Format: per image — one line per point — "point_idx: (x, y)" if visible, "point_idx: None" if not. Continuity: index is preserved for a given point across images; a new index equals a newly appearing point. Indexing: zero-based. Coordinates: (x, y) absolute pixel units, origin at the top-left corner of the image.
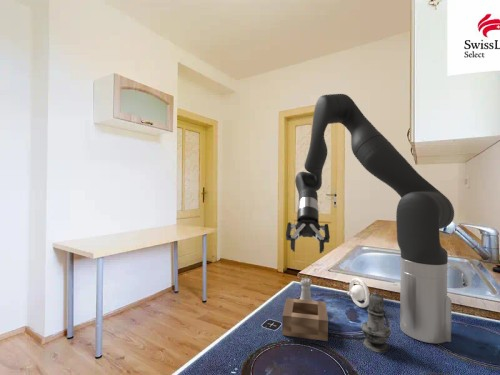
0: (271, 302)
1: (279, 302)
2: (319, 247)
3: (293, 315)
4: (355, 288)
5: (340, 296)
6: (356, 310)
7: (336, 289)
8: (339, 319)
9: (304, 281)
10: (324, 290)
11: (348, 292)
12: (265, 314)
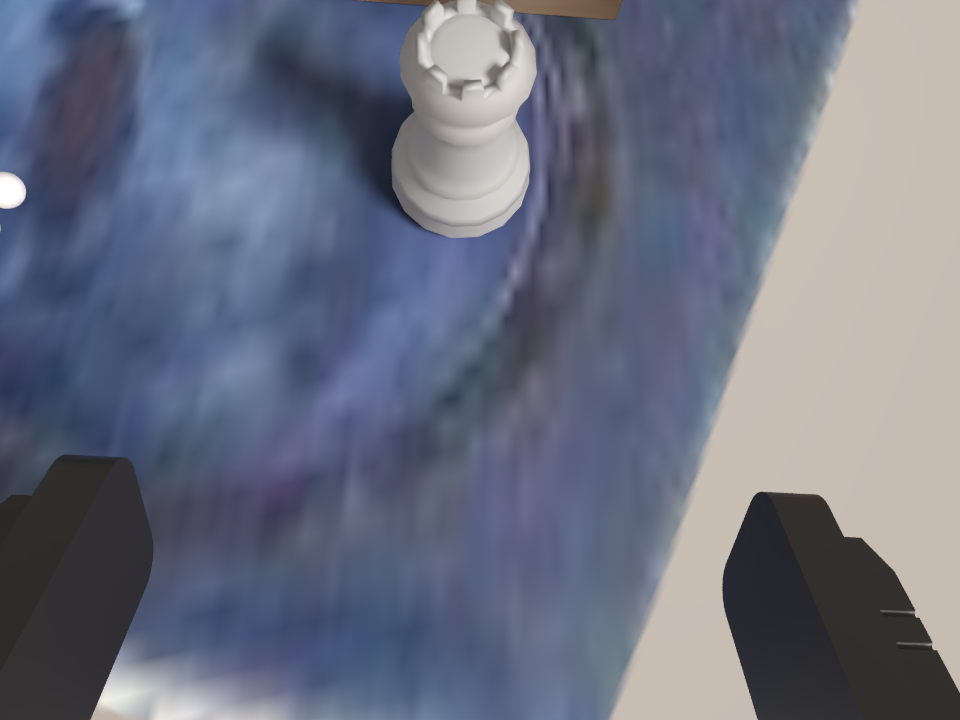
0: (758, 220)
1: (690, 233)
2: (90, 651)
3: None
4: None
5: None
6: None
7: None
8: (209, 18)
9: (490, 15)
10: (238, 629)
11: (6, 177)
12: (770, 5)
